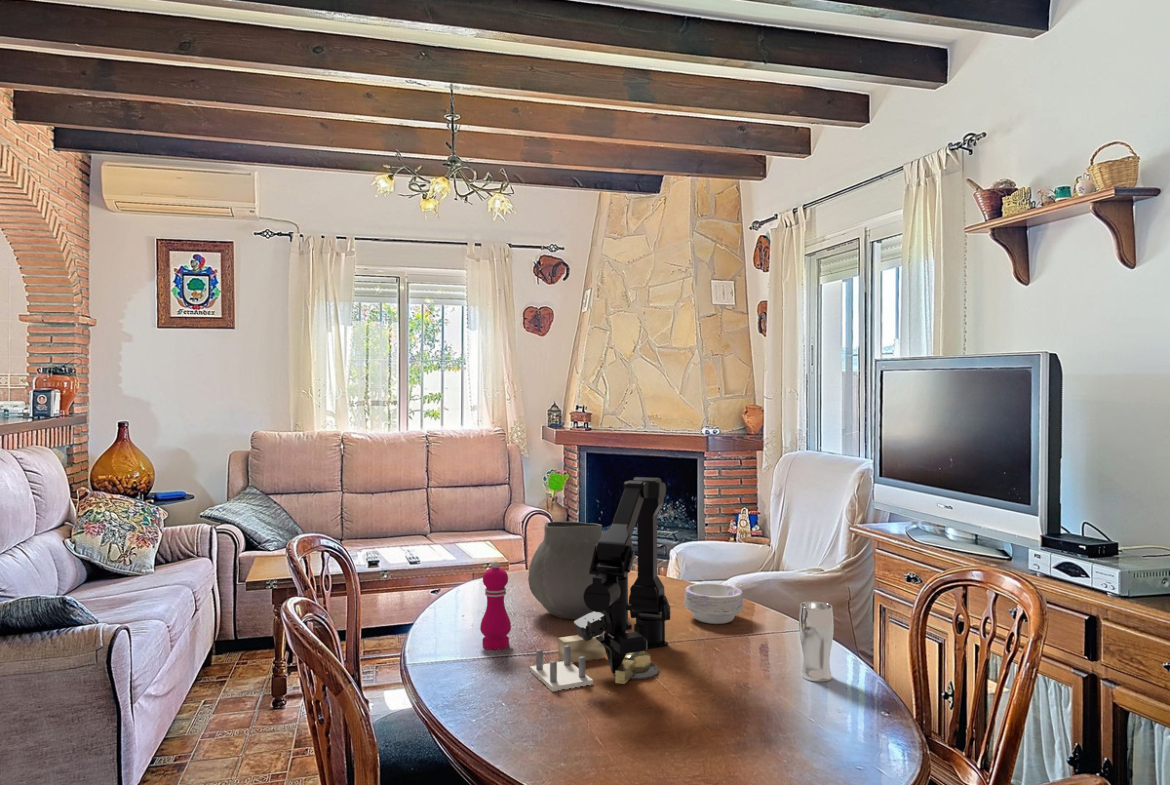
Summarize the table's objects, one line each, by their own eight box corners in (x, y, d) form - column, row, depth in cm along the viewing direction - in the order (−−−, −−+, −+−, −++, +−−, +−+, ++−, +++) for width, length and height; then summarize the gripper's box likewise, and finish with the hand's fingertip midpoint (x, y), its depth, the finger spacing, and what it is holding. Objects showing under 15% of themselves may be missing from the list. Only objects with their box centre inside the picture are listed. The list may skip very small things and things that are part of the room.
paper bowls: (755, 621, 207) (755, 590, 207) (712, 631, 199) (712, 599, 199) (714, 608, 220) (714, 579, 220) (672, 617, 211) (672, 587, 211)
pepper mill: (505, 651, 184) (505, 565, 184) (476, 649, 185) (475, 563, 185) (514, 641, 191) (514, 558, 191) (486, 640, 192) (485, 557, 192)
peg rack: (529, 670, 171) (529, 647, 171) (568, 664, 174) (568, 642, 174) (552, 691, 159) (551, 666, 159) (592, 684, 163) (592, 660, 163)
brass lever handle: (624, 660, 175) (624, 647, 175) (653, 663, 172) (653, 650, 172) (604, 681, 162) (604, 667, 162) (635, 685, 160) (635, 671, 160)
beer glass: (834, 673, 169) (834, 602, 169) (833, 684, 162) (833, 611, 162) (800, 669, 171) (800, 600, 171) (798, 680, 164) (797, 608, 164)
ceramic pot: (635, 611, 217) (635, 519, 217) (588, 634, 197) (587, 533, 197) (561, 598, 230) (561, 512, 230) (510, 619, 210) (509, 524, 210)
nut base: (644, 660, 177) (644, 657, 177) (666, 675, 168) (666, 672, 168) (603, 667, 173) (603, 664, 173) (624, 682, 164) (624, 679, 164)
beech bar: (598, 653, 182) (598, 632, 182) (605, 658, 179) (605, 636, 179) (558, 660, 178) (558, 637, 178) (564, 664, 175) (564, 642, 175)
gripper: (561, 592, 171) (562, 663, 172) (598, 615, 154) (598, 695, 155) (608, 586, 176) (608, 656, 176) (648, 609, 159) (648, 686, 159)
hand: (614, 672), depth 166 cm, fingers closed
